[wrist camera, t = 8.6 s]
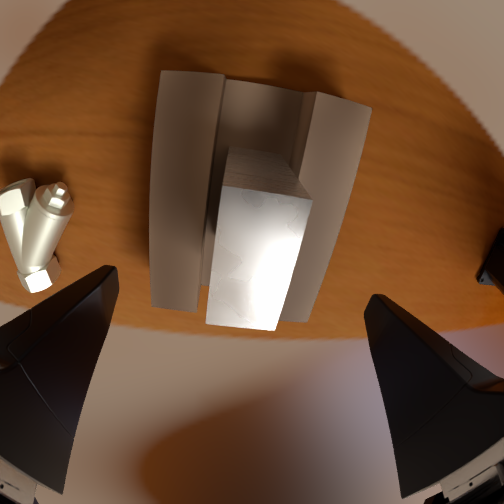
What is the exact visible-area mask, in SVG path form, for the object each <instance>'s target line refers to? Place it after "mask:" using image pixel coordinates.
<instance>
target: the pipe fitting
mask: <svg viewBox="0 0 504 504" xmlns="http://www.w3.org/2000/svg"><path fill="white" fill-rule="evenodd" d="M67 189H68V188H67V186H66V184H64V183H63V182H57V183H56V184H55V183H53V184H51V185H43V186H40V187H38V188H37V189H36V185H35V181H34V179H32V178H27V179H23V180H20V181H17V182H15V183H12V184H10V185H8V186H6V187H4V188H2V189H0V220H1V224H2V227H3V230H4V233H5V236H6V239H7V242H8V244H9V247H10V250H11V252H12V255H13V258H14V260H15V263H16V265H17V268H18V271H17V274H18V276H19V279H20V281H21V283H22V285H23V287H24V288H25V289H26V290H28V291H29V292H31V293H32V292H38V291H41V290H44V289H46V288H48V287H49V286H51V285H52V284H53V283H54V282H55V281H56V280H57V278H58V277H59V275H60V272H61V269H60V266H59V263H58V260H57V258H56V256H55V255H53V252H54V250H55V248H56V246H57V243H58V241H59V239H60V237H61V235H62V233H63V231H64V229H65V227H66V225H67V223H68V221H69V219H70V217H71V215H72V213H73V211H74V203H73V201H72V199H71V198H70V194H69V192H68V191H67Z"/></svg>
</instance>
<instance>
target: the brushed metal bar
mask: <svg viewBox="0 0 504 504" xmlns="http://www.w3.org/2000/svg"><path fill="white" fill-rule="evenodd" d="M312 201H313V200H312V198H311V197H310V195H309V194H308V192H307V191H306V189H305V188H304V187H303V185H302V184H301V182H300V181H299V180H298V178H297V177H296V175H295V174H294V173H293V171H292V170H291V168H290V167H289V166H288V164H287V163H286V162H285V160H284V159H283V158H282V156H281V155H280V154H276V153H270V152H264V151H258V150H252V149H245V148H239V147H232V146H229V151H228V156H227V162H226V168H225V173H224V179H223V185H222V192H221V199H220V206H219V213H218V221H217V228H216V236H215V244H214V252H213V260H212V269H211V278H210V287H209V296H208V305H207V315H206V324H212V325H221V326H230V327H240V328H251V329H263V330H275V328H276V325H277V322H278V319H279V315H280V312H281V309H282V306H283V303H284V299H285V296H286V293H287V290H288V286H289V283H290V280H291V276H292V273H293V269H294V266H295V263H296V259H297V256H298V252H299V249H300V245H301V242H302V238H303V235H304V231H305V227H306V224H307V220H308V216H309V213H310V209H311V205H312Z"/></svg>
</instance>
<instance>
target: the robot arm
mask: <svg viewBox="0 0 504 504" xmlns="http://www.w3.org/2000/svg"><path fill="white" fill-rule="evenodd" d="M477 282H478V283H479V284H483V285H493V286H496V287H497V288H498V289H499V290H500V291H501V292H502V294H503V295H504V228H501V230H500V231H499V234H498V236H497V239H496V241H495V243H494V245H493V248H492V250H491V252H490V254H489V256H488V258H487V261H486V263H485V265H484V267H483V269H482V271H481V273H480V275H479V277H478V279H477ZM118 293H119V281H118V272H117V268H116V267H115V266H110V265H104V266H102V267H100V268H98V269H96V270H95V271H93V272H91V273H89V274H88V275H86V276H84V277H82V278H81V279H79V280H77V281H75V282H74V283H72V284H70V285H69V286H67V287H65V288H64V289H62V290H60V291H58V292H57V293H55V294H53V295H52V296H50V297H48V298H47V299H45V300H44V301H42V302H40V303H39V304H37V305H35V306H34V307H32V308H31V309H29V310H27V311H26V312H24V313H23V314H21V315H19V316H18V317H16V318H15V319H13V320H12V321H10V322H8V323H6V324H4V325H2V326H1V327H0V504H38V502H37V500H36V498H35V497H34V496H35V491H36V487H37V484H39V485H41V486H43V487H45V488H48V489H50V490H52V491H54V492H57V493H59V494H61V495H62V494H63V490H64V484H65V479H66V474H67V468H68V464H69V459H70V454H71V450H72V446H73V441H74V439H73V438H74V437H75V432H76V429H77V425H78V421H79V418H80V414H81V411H82V407H83V404H84V400H85V397H86V394H87V391H88V387H89V384H90V381H91V378H92V375H93V372H94V369H95V366H96V363H97V360H98V357H99V355H100V352H101V349H102V346H103V343H104V341H105V338H106V336H107V333H108V329H109V326H110V323H111V319H112V315H113V311H114V308H115V304H116V300H117V297H118ZM364 320H365V325H366V330H367V336H368V341H369V347H370V352H371V355H372V359H373V363H374V366H375V370H376V374H377V378H378V381H379V386H380V389H381V394H382V397H383V402H384V406H385V410H386V415H387V419H388V424H389V429H390V433H391V438H392V443H393V448H394V455H395V460H396V466H397V472H398V479H399V485H400V491H401V497H402V499H403V498H406V497H409V496H411V495H414V494H416V493H419V492H421V491H424V490H426V489H428V488H430V487H433V486H435V485H437V484H439V483H440V485H441V488H442V492H440V493H438V494H436V495H434V496H432V497H429V498H427V499H426V500H425V502H424V504H504V379H503V378H500V377H498V376H496V375H494V374H493V373H491V372H490V371H489V370H487V369H486V368H484V367H483V366H481V365H480V364H478V363H477V362H475V361H474V360H473V359H471V358H469V357H468V356H467V355H465V354H464V353H463V352H461V351H460V350H459V349H457V348H456V347H455V346H453V345H452V344H449V342H448V341H447V340H445V339H444V338H443V337H441V336H440V335H439V334H437V333H436V332H435V331H433V330H432V329H431V328H429V327H428V326H427V325H425V324H424V323H423V322H421V321H420V320H418V319H417V318H416V317H414V316H413V315H412V314H410V313H409V312H407V311H406V310H405V309H403V308H402V307H401V306H399V305H398V304H396V303H395V302H394V301H392V300H391V299H389V298H388V297H386V296H385V295H383V294H373V295H372V297H371V298H370V301H369V303H368V305H367V307H366V309H365V311H364Z"/></svg>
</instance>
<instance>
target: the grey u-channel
mask: <svg viewBox="0 0 504 504" xmlns="http://www.w3.org/2000/svg"><path fill="white" fill-rule="evenodd" d="M371 112H372V108H371V107H368V106H365V105H362V104H359V103H356V102H353V101H349V100H346V99H343V98H339V97H336V96H332V95H329V94H325V93H321V92H304V93H303V92H299V91H294V90H290V89H285V88H280V87H275V86H269V85H264V84H258V83H251V82H245V81H237V80H230V79H226V77H225V75H224V74H215V73H204V72H190V71H168V70H161V75H160V82H159V89H158V96H157V104H156V113H155V122H154V132H153V144H152V158H151V174H150V200H149V262H150V287H151V304H152V307H158V308H165V309H172V310H179V311H187V312H195V313H197V307H198V301H199V294H200V288H201V285H204V286H210V278H211V269H212V260H213V252H214V244H215V236H216V228H217V221H218V213H219V206H220V199H221V192H222V185H223V179H224V173H225V168H226V162H227V156H228V151H229V146H232V147H239V148H245V149H252V150H258V151H264V152H270V153H276V154H280V155H281V156H282V158H283V159H284V160H285V162H286V163H287V164H288V166H289V167H290V168H291V170H292V171H293V173H294V174H295V175H296V177H297V178H298V180H299V181H300V182H301V184H302V185H303V187H304V188H305V189H306V191H307V192H308V194H309V195H310V197H311V198H312V200H313V201H312V205H311V209H310V213H309V216H308V220H307V224H306V227H305V231H304V235H303V238H302V242H301V245H300V249H299V252H298V256H297V259H296V263H295V266H294V269H293V273H292V276H291V280H290V283H289V286H288V290H287V293H286V296H285V299H284V303H283V306H282V309H281V312H280V315H279V319H278V321H291V322H307V321H308V319H309V316H310V313H311V311H312V308H313V306H314V303H315V300H316V297H317V295H318V292H319V289H320V287H321V284H322V281H323V278H324V275H325V273H326V270H327V267H328V264H329V261H330V258H331V255H332V252H333V249H334V246H335V243H336V240H337V237H338V234H339V231H340V227H341V224H342V221H343V218H344V215H345V211H346V208H347V205H348V201H349V198H350V194H351V191H352V187H353V184H354V180H355V177H356V173H357V169H358V165H359V162H360V158H361V154H362V150H363V146H364V142H365V138H366V134H367V130H368V125H369V121H370V116H371Z"/></svg>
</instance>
